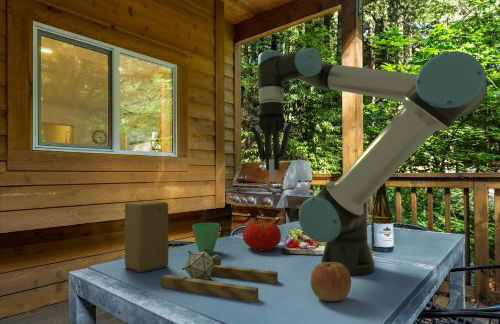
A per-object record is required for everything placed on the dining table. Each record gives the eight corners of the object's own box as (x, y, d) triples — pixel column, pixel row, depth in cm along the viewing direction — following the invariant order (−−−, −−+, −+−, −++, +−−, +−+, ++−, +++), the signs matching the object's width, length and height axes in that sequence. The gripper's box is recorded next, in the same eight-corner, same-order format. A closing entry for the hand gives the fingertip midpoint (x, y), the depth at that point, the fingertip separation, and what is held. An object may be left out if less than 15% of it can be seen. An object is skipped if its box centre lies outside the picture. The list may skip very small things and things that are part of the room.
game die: (205, 296, 86) (213, 271, 81) (175, 284, 86) (181, 259, 81) (215, 270, 94) (223, 246, 89) (187, 260, 94) (194, 235, 89)
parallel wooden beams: (281, 278, 88) (281, 261, 88) (254, 302, 72) (254, 281, 72) (200, 267, 99) (200, 253, 99) (160, 286, 83) (160, 269, 83)
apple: (357, 306, 69) (356, 267, 69) (316, 307, 68) (315, 269, 69) (342, 291, 78) (341, 257, 78) (306, 293, 77) (305, 258, 77)
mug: (223, 253, 117) (223, 225, 117) (196, 256, 113) (196, 227, 113) (210, 245, 130) (210, 220, 130) (186, 248, 126) (186, 222, 126)
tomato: (249, 255, 114) (248, 226, 114) (239, 245, 130) (239, 220, 130) (288, 252, 117) (287, 224, 118) (274, 243, 133) (273, 219, 133)
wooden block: (169, 266, 101) (169, 201, 102) (139, 274, 94) (139, 204, 94) (152, 261, 108) (152, 200, 108) (123, 267, 100) (123, 202, 101)
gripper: (295, 103, 100) (297, 180, 99) (255, 108, 105) (257, 181, 104) (288, 98, 93) (291, 181, 92) (246, 103, 98) (248, 181, 97)
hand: (273, 181), depth 98 cm, fingers closed
